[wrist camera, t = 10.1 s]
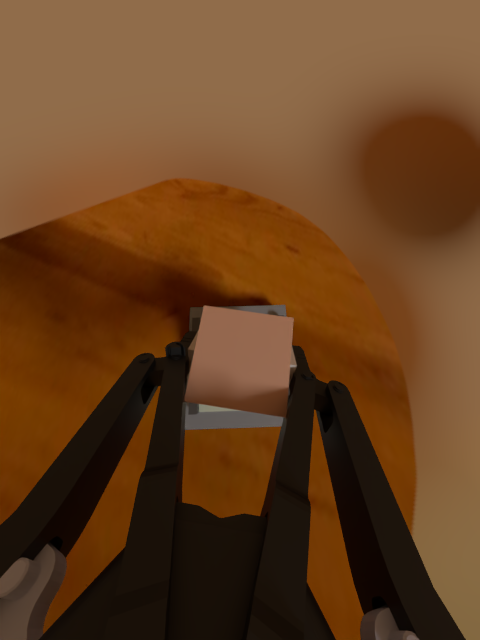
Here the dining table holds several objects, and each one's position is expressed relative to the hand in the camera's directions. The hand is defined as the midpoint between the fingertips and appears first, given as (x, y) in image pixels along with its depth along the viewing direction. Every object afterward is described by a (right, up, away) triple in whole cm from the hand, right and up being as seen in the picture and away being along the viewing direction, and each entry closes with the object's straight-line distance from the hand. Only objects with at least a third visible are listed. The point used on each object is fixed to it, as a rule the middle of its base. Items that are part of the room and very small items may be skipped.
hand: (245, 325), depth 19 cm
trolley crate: (0, -4, +2) cm, 5 cm away
